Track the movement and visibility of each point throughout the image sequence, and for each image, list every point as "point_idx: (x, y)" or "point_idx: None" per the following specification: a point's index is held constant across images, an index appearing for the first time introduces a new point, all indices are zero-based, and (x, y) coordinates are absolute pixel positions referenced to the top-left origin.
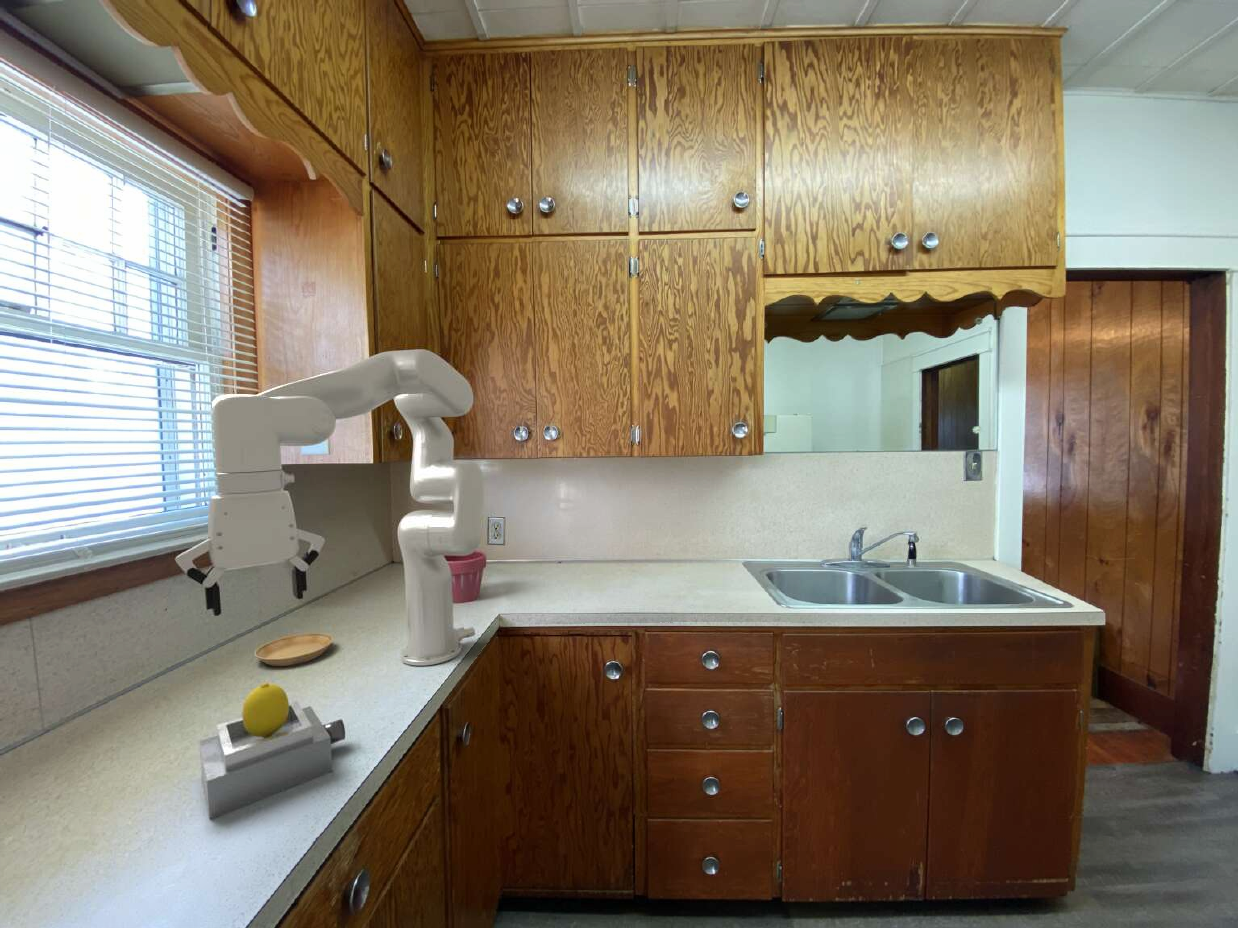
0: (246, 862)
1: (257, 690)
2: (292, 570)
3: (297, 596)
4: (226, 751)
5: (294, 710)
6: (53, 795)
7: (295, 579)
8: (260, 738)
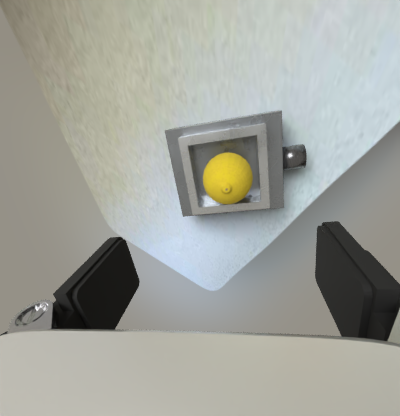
0: (213, 259)
1: (217, 192)
2: (364, 301)
3: (318, 285)
4: (193, 208)
5: (259, 154)
6: (62, 82)
7: (342, 322)
8: None
